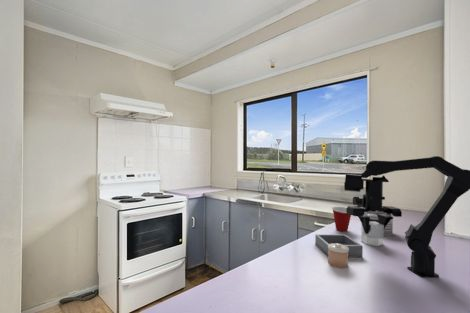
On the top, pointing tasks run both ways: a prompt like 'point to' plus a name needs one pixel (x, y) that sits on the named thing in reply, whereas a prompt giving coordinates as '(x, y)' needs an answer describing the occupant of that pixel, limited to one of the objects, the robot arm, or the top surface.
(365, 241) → the jar
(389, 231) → the can
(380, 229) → the steel block
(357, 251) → the tote
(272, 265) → the top surface
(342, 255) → the ceramic canister
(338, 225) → the plastic cup
